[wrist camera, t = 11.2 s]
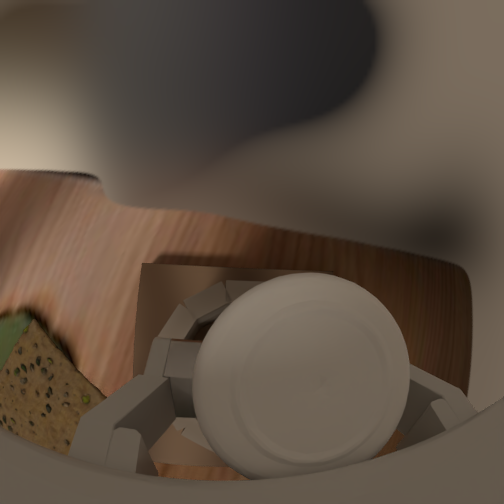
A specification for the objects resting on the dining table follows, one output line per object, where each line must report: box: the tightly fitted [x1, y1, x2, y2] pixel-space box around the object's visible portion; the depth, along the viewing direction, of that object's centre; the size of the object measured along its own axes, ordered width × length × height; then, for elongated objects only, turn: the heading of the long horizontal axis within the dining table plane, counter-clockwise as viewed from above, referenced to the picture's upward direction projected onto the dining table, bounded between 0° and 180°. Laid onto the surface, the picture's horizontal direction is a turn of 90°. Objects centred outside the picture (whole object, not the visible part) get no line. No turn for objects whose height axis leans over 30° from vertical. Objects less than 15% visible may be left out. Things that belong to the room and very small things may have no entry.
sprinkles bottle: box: [192, 273, 410, 480], centre depth 10 cm, size 5×5×14 cm
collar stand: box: [133, 263, 333, 467], centre depth 16 cm, size 14×14×6 cm
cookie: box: [0, 319, 107, 456], centre depth 14 cm, size 12×12×1 cm
